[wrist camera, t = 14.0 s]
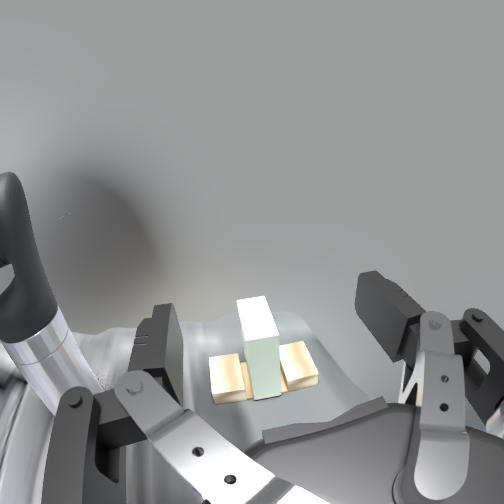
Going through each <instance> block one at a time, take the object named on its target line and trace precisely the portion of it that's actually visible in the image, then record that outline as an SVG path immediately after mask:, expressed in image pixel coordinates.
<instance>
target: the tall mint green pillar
mask: <svg viewBox="0 0 504 504" xmlns="http://www.w3.org/2000/svg"><path fill="white" fill-rule="evenodd" d="M237 305H238V312H239V319H240V326H241V333H242V340H243V346H244V353H245V359H246V364H247V369H248V373H249V378H250V383H251V387H252V392H253V396H254V400H258V399H263V398H269V397H274V396H279V395H281V372H280V347H279V334H278V331H277V328H276V326H275V323H274V320H273V318H272V315H271V312H270V310H269V307H268V305H267V302H266V299H265V297H264V296H262V297H255V298H249V299H243V300H237Z"/></svg>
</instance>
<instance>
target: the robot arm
mask: <svg viewBox="0 0 504 504" xmlns="http://www.w3.org/2000/svg"><path fill="white" fill-rule="evenodd" d="M8 264H12V266H13V269H14V273H15V277H14V279H13V281H12V282H11V284H10V285H9V286H8V288H7V289H6V290H5V291H4V292H3V293H2V294H1V295H0V340H1V342H2V344H3V346H4V347H5V349H6V351H7V352H8V354H9V355H10V357H11V359H12V360H13V361H14V363H15V365H16V366H17V368H18V369H19V371H20V372H21V373H22V375H23V376H24V378H25V379H26V381H27V382H28V383H29V385H30V386H31V387H32V389H33V390H34V391H35V393H36V394H37V395H38V397H39V398H40V399H41V400H42V402H43V403H44V404H45V405H46V407H47V408H48V409H49V410H50V411H51V413H52V414H53V415H54V416H55V420H54V425H53V429H52V434H51V438H50V443H49V449H48V454H47V460H46V466H45V473H44V481H43V490H42V501H41V504H126V445H129V444H132V443H136V442H139V441H143V440H146V439H148V441H149V442H150V443H151V444H152V445H153V446H154V448H155V449H156V450H157V451H158V452H159V453H160V455H161V456H162V457H163V458H164V459H165V460H166V461H167V462H168V463H169V464H170V466H171V467H172V468H173V469H174V470H175V471H176V472H177V473H178V474H179V475H180V476H181V477H182V478H183V479H184V480H185V481H186V482H187V483H188V484H189V485H190V486H191V487H192V488H193V489H194V490H195V491H196V492H197V493H198V494H199V495H200V496H201V497H203V498H204V499H205V500H204V502H203V503H202V504H504V331H503V330H502V329H501V328H500V327H499V326H498V325H497V324H496V323H495V322H494V321H493V320H492V319H491V318H490V317H489V316H488V315H487V314H486V313H484V312H483V311H481V310H479V309H474V308H471V309H467V310H466V311H465V312H464V315H463V318H462V320H454V321H450V320H449V319H448V318H447V317H446V316H445V315H443V314H442V313H439V312H434V311H429V312H426V311H425V310H424V309H423V308H422V307H421V306H420V305H419V304H418V303H417V302H416V301H415V300H413V299H412V298H411V297H410V296H408V294H407V293H406V292H405V291H403V289H402V288H401V287H399V286H398V285H397V284H396V283H394V282H392V281H390V280H388V279H385V278H384V277H383V276H382V275H381V274H380V273H378V272H377V271H370V272H365V273H361V274H360V275H359V277H358V284H357V291H356V298H355V310H356V313H357V315H358V316H359V318H360V319H361V320H362V322H363V323H364V324H365V325H366V327H367V328H368V329H369V331H370V332H371V333H372V335H373V336H374V337H375V338H376V340H377V341H378V343H379V344H380V345H381V347H382V348H383V349H384V351H385V352H386V353H387V355H388V356H389V357H390V359H391V360H392V362H393V363H394V362H397V361H399V360H402V359H404V361H405V363H404V366H403V372H402V379H401V386H400V393H399V399H398V403H386V401H385V400H384V398H383V397H382V396H381V397H379V398H376V399H374V400H371V401H368V402H366V403H363V404H360V405H357V406H355V407H354V408H352V409H350V410H349V411H347V412H345V413H344V414H342V415H340V416H339V417H337V418H335V419H334V420H332V421H329V422H321V423H300V424H291V425H286V426H282V427H277V428H272V429H267V430H262V435H263V439H261V440H259V441H256V442H255V443H253V444H251V445H249V446H248V447H246V448H245V449H244V450H242V451H240V450H238V449H237V448H236V447H235V446H233V445H232V444H231V443H229V442H228V441H227V440H226V439H224V438H223V437H222V436H221V435H220V434H218V433H217V432H216V431H215V430H214V429H212V428H211V427H210V426H209V425H208V424H207V423H205V422H204V421H203V420H202V419H201V418H200V417H199V416H198V415H196V414H195V413H194V412H193V411H192V410H190V409H186V410H185V409H183V338H182V333H181V329H180V326H179V322H178V319H177V315H176V312H175V308H174V305H173V303H169V304H161V305H155V306H154V310H153V315H152V318H146V319H144V320H143V321H142V322H141V323H140V325H139V326H138V327H137V331H136V335H135V337H136V338H135V340H134V345H133V348H132V353H131V357H130V362H129V367H128V372H127V373H125V374H124V375H122V376H121V377H120V378H119V379H118V380H117V382H116V384H115V387H114V388H113V389H111V390H108V391H104V389H103V388H102V386H101V385H100V383H99V381H98V380H97V378H96V377H95V375H94V373H93V372H92V370H91V368H90V367H89V365H88V363H87V361H86V360H85V358H84V356H83V354H82V352H81V351H80V349H79V347H78V345H77V343H76V341H75V339H74V337H73V335H72V333H71V331H70V329H69V327H68V325H67V324H66V322H65V319H64V317H63V315H62V313H61V311H60V309H59V306H58V304H57V302H56V299H55V297H54V295H53V293H52V290H51V287H50V285H49V282H48V280H47V277H46V274H45V271H44V268H43V266H42V263H41V260H40V257H39V253H38V250H37V246H36V243H35V238H34V234H33V230H32V225H31V221H30V215H29V211H28V206H27V201H26V198H25V194H24V190H23V187H22V185H21V182H20V180H19V179H18V177H17V176H16V175H15V174H14V173H12V172H6V173H3V174H0V268H2V267H4V266H6V265H8ZM478 349H479V350H480V351H481V352H482V353H483V355H484V356H485V357H486V358H487V359H488V361H489V362H490V371H489V373H488V375H487V374H486V372H485V371H484V370H483V369H482V368H481V366H480V365H479V364H478V363H477V361H476V360H475V359H474V356H475V355H476V352H477V350H478ZM465 397H466V398H467V399H468V401H469V402H470V404H471V405H472V407H473V408H474V410H475V411H476V412H477V414H478V416H479V417H480V419H481V420H482V422H483V423H484V425H485V427H486V431H487V433H486V432H483V431H480V430H477V429H474V428H471V427H468V426H465Z"/></svg>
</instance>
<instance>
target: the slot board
mask: <svg viewBox="0 0 504 504" xmlns="http://www.w3.org/2000/svg"><path fill="white" fill-rule="evenodd" d="M279 347H280V372H281V393H285V392H289V391H293V390H298V389H302V388H306V387H310V386H314V385H317V383H318V371H317V369H316V367H315V365H314V363H313V361H312V359H311V357H310V354H309V352H308V350H307V348H306V346H305V344H304V342H303V341H300V342H296V343H291V344H286V345H281V346H279ZM209 360H210V374H211V386H212V395H213V398H214V401H215V404H222V403H229V402H236V401H242V400H248V399H254V396H253V392H252V387H251V383H250V378H249V373H248V369H247V364H246V362H243V363H240V362H239V357H238V353H237V354H230V355H224V356H217V357H210V358H209Z"/></svg>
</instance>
